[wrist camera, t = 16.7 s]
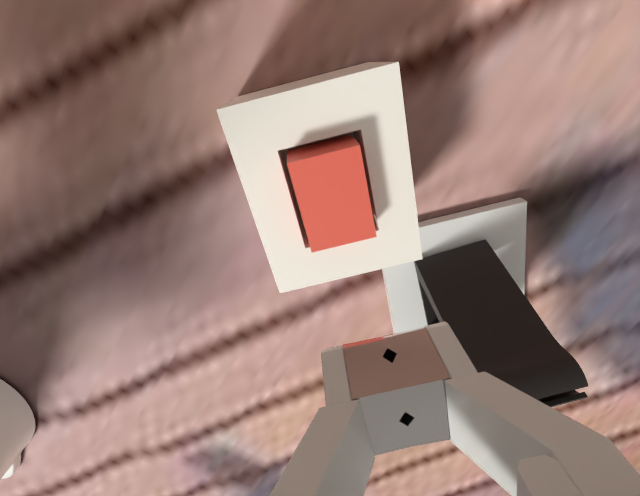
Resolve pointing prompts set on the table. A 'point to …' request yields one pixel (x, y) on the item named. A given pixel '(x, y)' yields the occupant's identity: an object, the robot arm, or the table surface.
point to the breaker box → (316, 126)
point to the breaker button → (332, 192)
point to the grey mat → (452, 232)
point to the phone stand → (497, 323)
